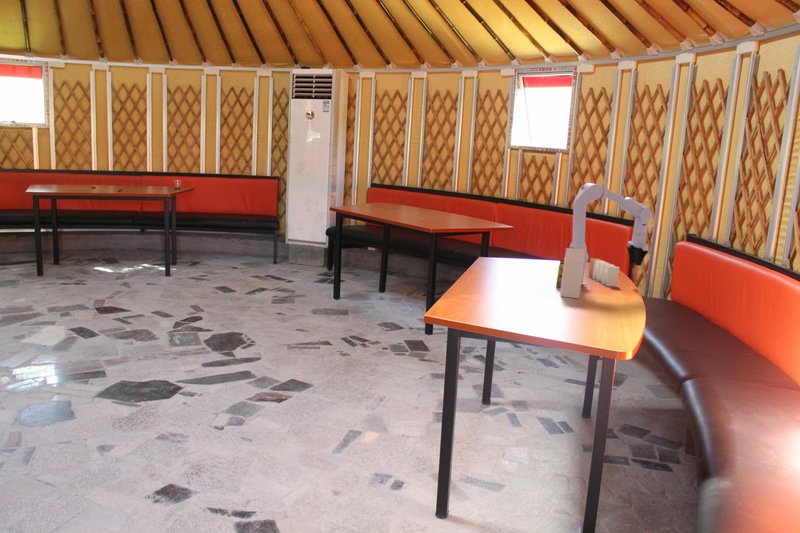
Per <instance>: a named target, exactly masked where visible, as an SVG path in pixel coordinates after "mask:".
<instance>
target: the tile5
mask: <svg viewBox="0 0 800 533" xmlns="http://www.w3.org/2000/svg"><path fill="white" fill-rule="evenodd" d="M595 260H598V261H602V260H601V258H590V259H589V265H588V266H589V268H588V274H587V276H589V277H593V271H594V263H595Z"/></svg>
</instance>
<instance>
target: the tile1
mask: <svg viewBox="0 0 800 533" xmlns="http://www.w3.org/2000/svg"><path fill="white" fill-rule="evenodd" d="M619 273H620V266H614V267H611V266H609V269H608V276H607V283H606V286H618V280H619V275H620V274H619ZM606 286H605V287H606Z"/></svg>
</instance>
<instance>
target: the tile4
mask: <svg viewBox="0 0 800 533" xmlns="http://www.w3.org/2000/svg"><path fill="white" fill-rule="evenodd" d="M599 262H603V263H606V261H605V260H600V261H598V260H595V263H594V271H593V279H597V276H598V269H599Z"/></svg>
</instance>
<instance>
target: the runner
mask: <svg viewBox="0 0 800 533" xmlns="http://www.w3.org/2000/svg"><path fill="white" fill-rule="evenodd" d="M586 278H589V279H591V280H592V281H594V282H597V283H599V284H600V285H602V286H604V287H607V288H620V286H618V285H617V286H606V284H602V283H601V282H602V281H597V279H593V277H589V276H588V275H586Z"/></svg>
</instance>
